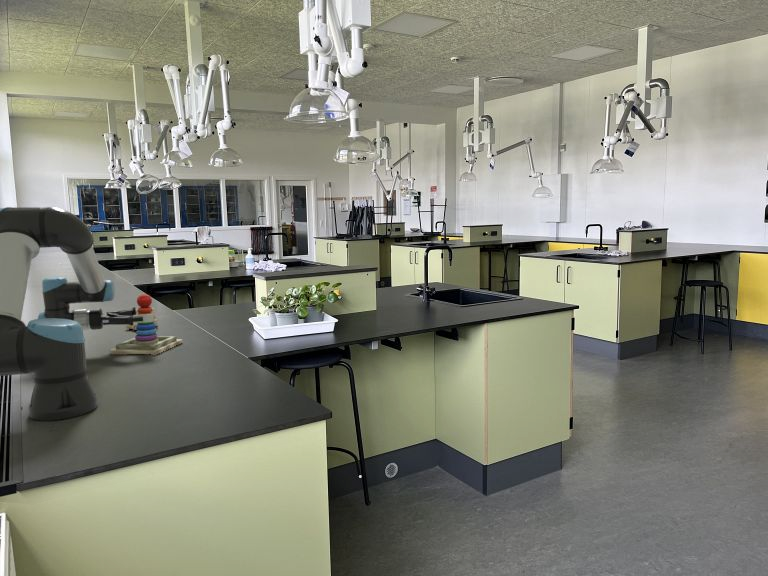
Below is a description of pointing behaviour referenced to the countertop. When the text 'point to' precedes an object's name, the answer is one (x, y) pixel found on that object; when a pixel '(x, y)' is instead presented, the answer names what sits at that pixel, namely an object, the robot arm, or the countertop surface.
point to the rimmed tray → (146, 346)
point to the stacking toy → (145, 323)
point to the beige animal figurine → (137, 323)
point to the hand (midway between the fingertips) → (154, 314)
